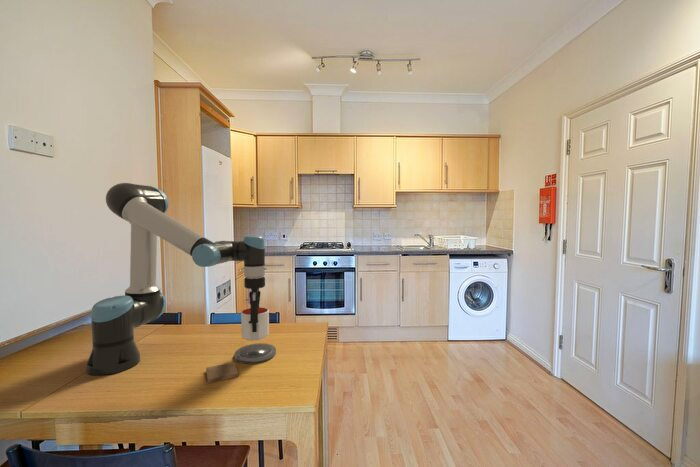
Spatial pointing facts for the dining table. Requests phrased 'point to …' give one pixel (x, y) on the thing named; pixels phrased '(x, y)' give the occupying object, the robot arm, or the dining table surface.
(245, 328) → the cup
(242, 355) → the grey plate
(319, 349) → the dining table surface
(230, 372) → the oak coaster
